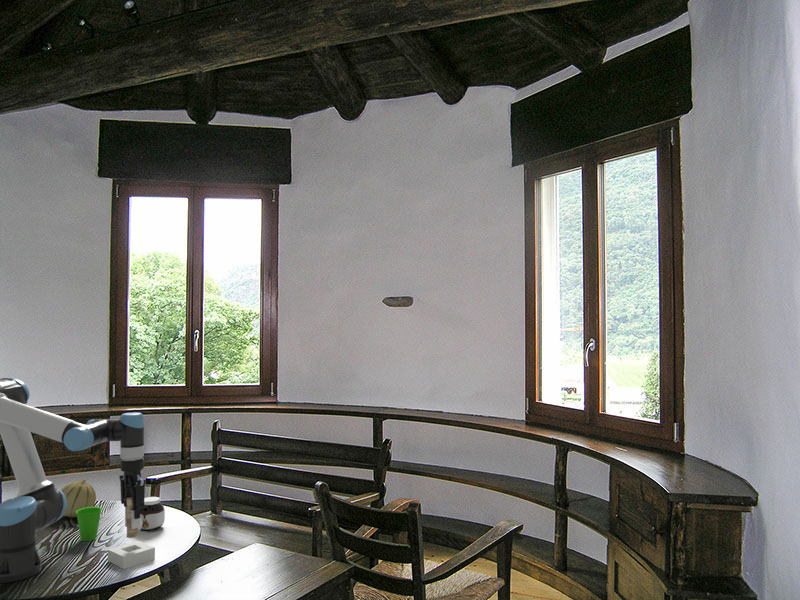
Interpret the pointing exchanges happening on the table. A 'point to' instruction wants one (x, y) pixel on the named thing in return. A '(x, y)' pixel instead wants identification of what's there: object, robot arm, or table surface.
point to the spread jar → (151, 514)
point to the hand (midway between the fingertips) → (132, 526)
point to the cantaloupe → (78, 497)
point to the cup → (88, 522)
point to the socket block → (131, 554)
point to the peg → (130, 532)
